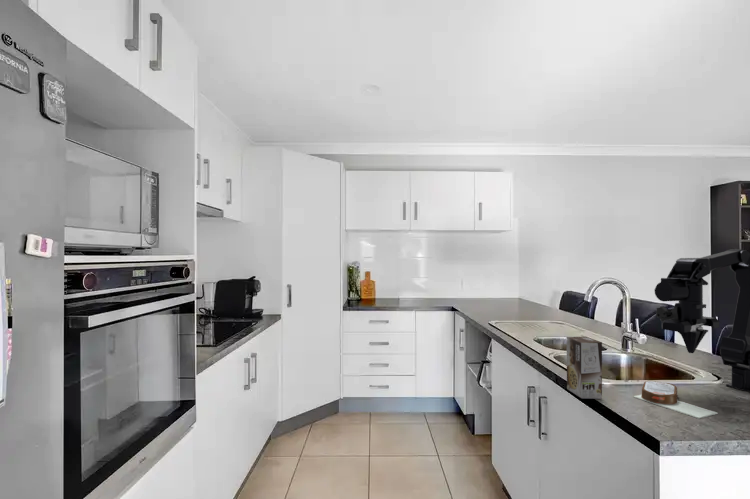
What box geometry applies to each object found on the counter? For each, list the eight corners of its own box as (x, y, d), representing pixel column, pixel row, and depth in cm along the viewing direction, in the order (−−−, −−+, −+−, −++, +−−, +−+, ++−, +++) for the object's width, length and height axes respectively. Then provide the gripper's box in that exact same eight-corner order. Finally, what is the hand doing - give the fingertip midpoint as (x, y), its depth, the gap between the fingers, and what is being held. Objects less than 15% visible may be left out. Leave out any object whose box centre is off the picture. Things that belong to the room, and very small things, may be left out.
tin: (677, 392, 125) (644, 388, 130) (676, 381, 125) (643, 378, 130) (677, 406, 112) (640, 402, 117) (676, 395, 113) (639, 391, 118)
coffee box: (603, 398, 120) (603, 342, 120) (580, 399, 119) (580, 342, 120) (586, 388, 129) (586, 335, 129) (565, 388, 129) (565, 335, 129)
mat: (651, 393, 124) (651, 392, 124) (717, 413, 109) (717, 412, 109) (633, 397, 121) (633, 396, 121) (699, 418, 105) (699, 417, 105)
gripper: (680, 296, 136) (680, 344, 136) (643, 299, 128) (643, 350, 128) (720, 299, 126) (720, 351, 126) (683, 303, 118) (683, 358, 118)
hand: (690, 352), depth 125 cm, fingers closed
